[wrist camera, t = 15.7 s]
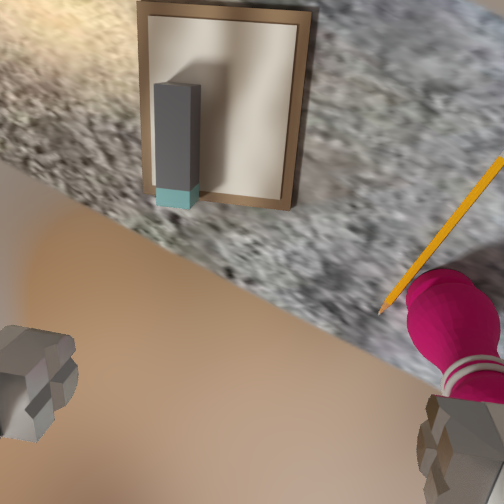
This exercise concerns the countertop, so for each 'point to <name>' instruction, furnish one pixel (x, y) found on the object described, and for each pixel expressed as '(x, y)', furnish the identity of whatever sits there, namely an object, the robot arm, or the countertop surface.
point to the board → (229, 94)
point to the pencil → (445, 231)
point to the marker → (177, 143)
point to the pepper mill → (457, 334)
